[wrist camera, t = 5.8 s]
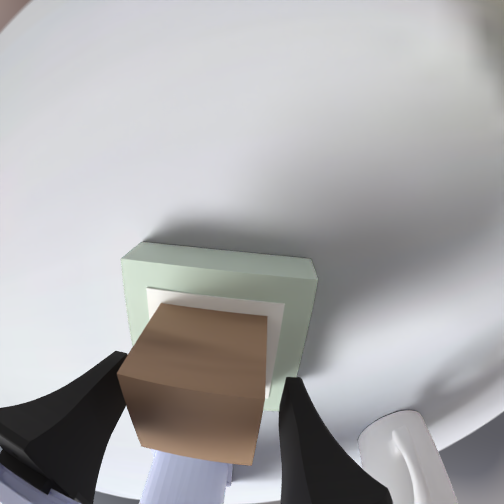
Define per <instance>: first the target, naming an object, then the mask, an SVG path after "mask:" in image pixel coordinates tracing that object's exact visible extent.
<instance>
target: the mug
mask: <svg viewBox="0 0 504 504" xmlns="http://www.w3.org/2000/svg"><path fill="white" fill-rule="evenodd" d="M358 444H359V450H360V457H361V463H362V468H363V470H364V471H366V472H367V473H368V474H369V475H370V476H372V477H373V478H374V479H375V480H377V481H378V482H380V483H381V484H382V485H384V486H385V487H387V488H388V490H389V492H390V495H391V497H392V500H393V504H458V501H457V498H456V495H455V493H454V490H453V487H452V485H451V482H450V480H449V477H448V475H447V472H446V470H445V467H444V465H443V462H442V460H441V458H440V456H439V453H438V450H437V448H436V446H435V443H434V441H433V439H432V436H431V434H430V432H429V430H428V428H427V426H426V424H425V422H424V420H423V418H422V416H421V414H420V413H419V412H417V411H413V410H405V411H399V412H395V413H392V414H389V415H387V416H385V417H382V418H380V419H379V420H377V421H375V422H373V423H372V424H371V425H369V426H368V427H367V428H366V429H365V430H364V431H363V432H362V433H361V435H360V436H359V439H358Z"/></svg>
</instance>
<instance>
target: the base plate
mask: <svg viewBox="0 0 504 504" xmlns="http://www.w3.org/2000/svg"><path fill="white" fill-rule="evenodd" d="M121 267H122V277H123V286H124V294H125V302H126V309H127V316H128V322H129V328H130V334H131V340H132V345H133V346H134V344H135V343H136V341H137V339H138V338H139V336H140V335H141V333H142V332H143V330H144V328H145V327H146V325H147V324H148V322H149V321H150V319H151V317H152V316H153V314H154V313H155V311H156V310H157V308H158V307H159V305H160V304H161V303H165V304H172V305H179V306H186V307H193V308H201V309H208V310H216V311H225V312H234V313H243V314H252V315H262V316H267V355H266V387H265V402H264V408H263V410H264V411H279V405H280V401H281V397H282V393H283V389H284V384H285V380H286V377H297V373H298V369H299V365H300V361H301V357H302V353H303V349H304V344H305V340H306V336H307V331H308V327H309V322H310V318H311V313H312V309H313V304H314V299H315V294H316V289H317V284H318V277H317V274H316V272H315V269H314V266H313V263H312V260H311V259H309V258H299V257H289V256H279V255H269V254H258V253H248V252H238V251H228V250H218V249H208V248H198V247H188V246H178V245H168V244H158V243H148V242H141V243H139V244H138V245H137V246H136V247H134V248H133V249H132V250H131V251H129V252H128V253H127V254H126V255H124V256H123V257H122V258H121Z"/></svg>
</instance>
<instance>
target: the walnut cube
mask: <svg viewBox="0 0 504 504" xmlns="http://www.w3.org/2000/svg"><path fill="white" fill-rule="evenodd" d="M266 355H267V316H262V315H252V314H243V313H234V312H225V311H216V310H208V309H201V308H193V307H186V306H179V305H172V304H165V303H161V304H160V305H159V307H158V308H157V310H156V311H155V313H154V314H153V316H152V317H151V319H150V321H149V322H148V324H147V325H146V327H145V328H144V330H143V332H142V333H141V335H140V336H139V338H138V339H137V341H136V343H135V344H134V346H133V348H132V349H131V351H130V352H129V354H128V356H127V357H126V359H125V361H124V362H123V364H122V365H121V367H120V369H119V370H118V372H117V377H118V380H119V383H120V387H121V390H122V393H123V396H124V399H125V403H126V406H127V409H128V411H129V414H130V417H131V420H132V423H133V425H134V428H135V431H136V433H137V436H138V439H139V441H140V444H141V446H143V447H146V448H150V449H154V450H158V451H162V452H166V453H171V454H175V455H180V456H185V457H190V458H196V459H201V460H208V461H214V462H222V463H230V464H239V465H250V466H252V462H253V457H254V452H255V448H256V443H257V438H258V433H259V428H260V423H261V418H262V413H263V408H264V402H265V387H266Z"/></svg>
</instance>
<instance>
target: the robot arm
mask: <svg viewBox="0 0 504 504" xmlns="http://www.w3.org/2000/svg"><path fill="white" fill-rule="evenodd" d="M127 356H128V355H127V353H123V352H119V351H115V352H113V353H112V354H111V355H109V356H108V357H107V358H105V359H104V360H103V361H101V362H100V363H99V364H97V365H96V366H94V367H93V368H92V369H90V370H89V371H87V372H86V373H85V374H83V375H82V376H80V377H79V378H77V379H75V380H74V381H72V382H71V383H69V384H68V385H66V386H64V387H62V388H60V389H59V390H57V391H55V392H53V393H50V394H48V395H46V396H43V397H41V398H38V399H36V400H33V401H30V402H26V403H23V404H19V405H15V406H10V407H4V408H0V446H1V448H2V449H3V450H2V451H1V453H0V504H93V499H94V494H95V488H96V483H97V478H98V474H99V470H100V466H101V463H102V459H103V456H104V453H105V450H106V447H107V444H108V441H109V439H110V436H111V434H112V432H113V430H114V428H115V426H116V424H117V422H118V420H119V418H120V416H121V414H122V412H123V410H124V408H125V407H126V403H125V399H124V396H123V393H122V390H121V387H120V383H119V380H118V377H117V372H118V370H119V369H120V367H121V365H122V364H123V362H124V361H125V359H126V357H127ZM279 436H280V448H281V460H282V488H281V504H393V500H392V497H391V495H390V492H389V490H388V488H387V487H385V486H384V485H382V484H381V483H380V482H378V481H377V480H375V479H374V478H373V477H372V476H370V475H369V474H368V473H367V472H366V471H364V470H363V469H362V468H361V467H360V466H359V465H358V464H357V463H356V462H355V461H354V460H353V459H352V458H351V457H350V456H349V455H348V454H347V453H346V452H345V451H344V450H343V448H342V447H341V446H340V445H339V444H338V442H337V441H336V440H335V439H334V437H333V436H332V435H331V433H330V432H329V430H328V429H327V427H326V426H325V424H324V423H323V421H322V419H321V418H320V416H319V414H318V412H317V411H316V409H315V407H314V405H313V403H312V401H311V399H310V397H309V395H308V393H307V391H306V388H305V386H304V383H303V381H302V379H301V378H300V377H286V380H285V384H284V389H283V393H282V397H281V401H280V405H279ZM151 450H152V453H153V456H154V460H153V463H152V466H151V469H150V472H149V475H148V478H147V481H146V484H145V487H144V490H143V493H142V497H141V500H140V503H139V504H224V497H225V489H226V486H227V487H229V486H231V481H232V470H233V464H230V463H222V462H214V461H208V460H201V459H196V458H190V457H185V456H180V455H175V454H171V453H166V452H162V451H158V450H154V449H151Z"/></svg>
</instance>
